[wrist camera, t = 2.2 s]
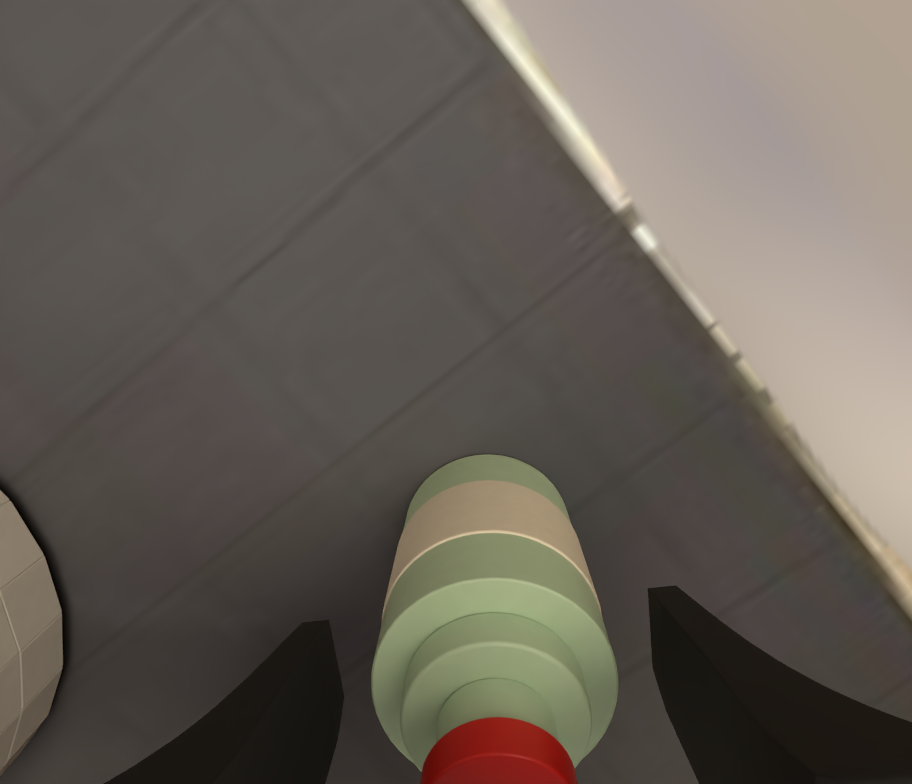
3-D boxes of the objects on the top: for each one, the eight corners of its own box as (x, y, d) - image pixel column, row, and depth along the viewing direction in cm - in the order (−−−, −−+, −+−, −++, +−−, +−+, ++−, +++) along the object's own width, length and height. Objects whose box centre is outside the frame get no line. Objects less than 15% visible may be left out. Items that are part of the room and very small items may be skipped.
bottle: (563, 442, 19) (656, 667, 9) (577, 596, 20) (672, 934, 11) (391, 462, 19) (311, 699, 10) (416, 612, 21) (365, 956, 11)
